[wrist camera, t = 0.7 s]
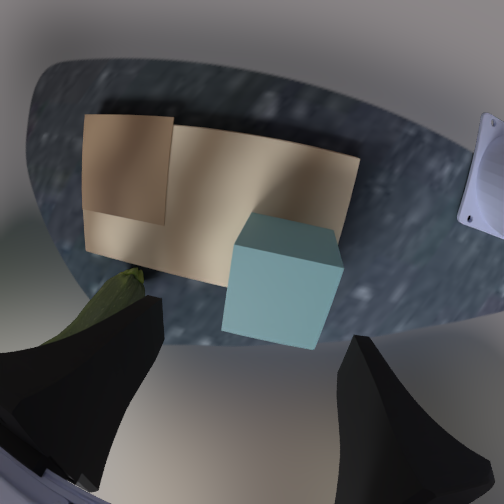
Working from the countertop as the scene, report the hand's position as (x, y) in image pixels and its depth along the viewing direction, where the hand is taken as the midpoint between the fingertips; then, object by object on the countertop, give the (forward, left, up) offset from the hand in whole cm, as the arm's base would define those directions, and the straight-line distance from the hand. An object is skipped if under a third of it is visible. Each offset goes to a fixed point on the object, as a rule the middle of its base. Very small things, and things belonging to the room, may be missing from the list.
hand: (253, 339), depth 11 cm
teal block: (-1, +1, -9) cm, 9 cm away
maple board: (+5, -1, -10) cm, 11 cm away
